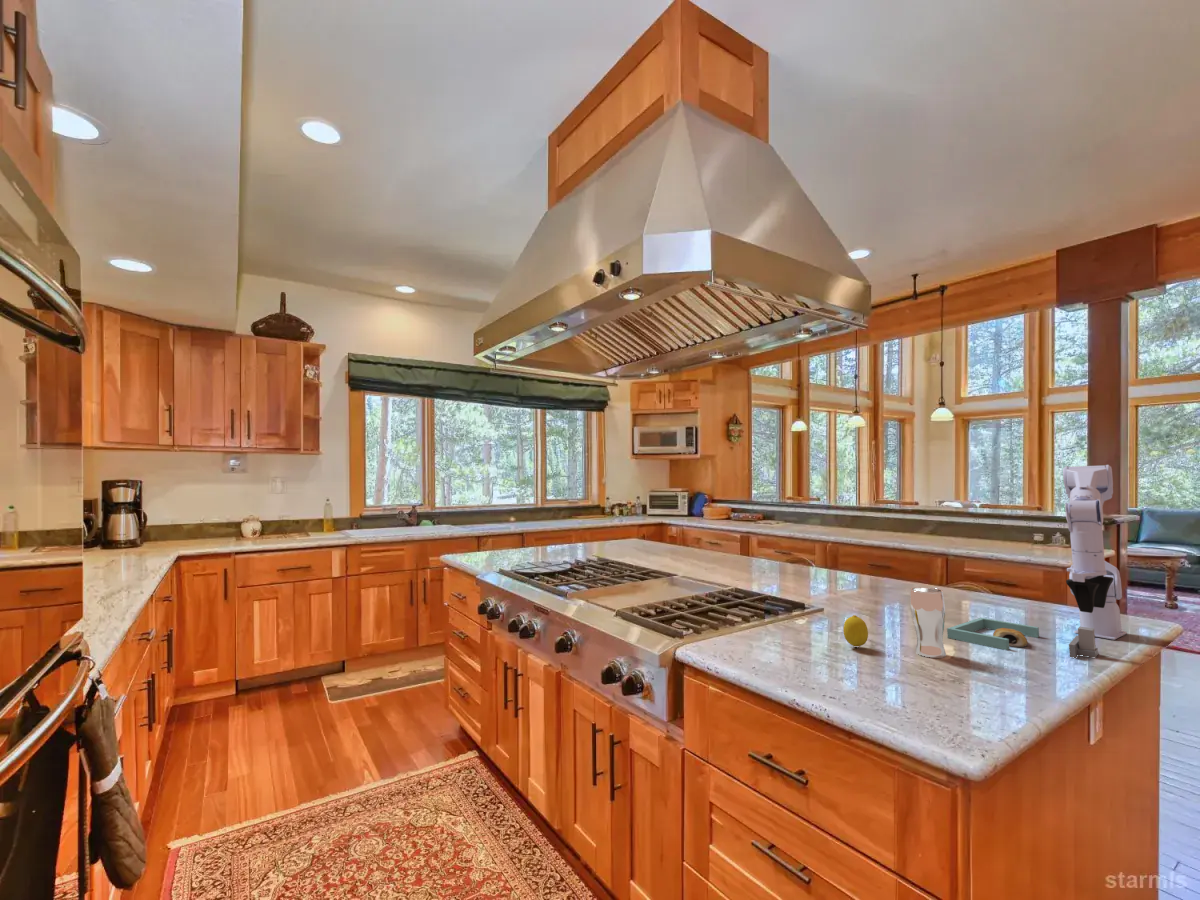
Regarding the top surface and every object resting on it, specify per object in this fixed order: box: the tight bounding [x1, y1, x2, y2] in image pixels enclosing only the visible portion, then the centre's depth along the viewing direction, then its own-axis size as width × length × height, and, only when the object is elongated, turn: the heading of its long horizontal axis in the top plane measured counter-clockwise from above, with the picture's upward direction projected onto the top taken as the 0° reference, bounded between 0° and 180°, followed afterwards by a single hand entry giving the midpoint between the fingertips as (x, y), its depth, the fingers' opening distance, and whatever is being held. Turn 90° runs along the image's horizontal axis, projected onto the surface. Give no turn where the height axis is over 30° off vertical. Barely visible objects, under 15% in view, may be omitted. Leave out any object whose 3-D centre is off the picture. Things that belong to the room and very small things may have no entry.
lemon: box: [842, 614, 869, 647], centre depth 135 cm, size 6×6×8 cm
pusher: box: [1068, 626, 1099, 659], centre depth 125 cm, size 10×4×6 cm, turn 131°
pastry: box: [992, 628, 1028, 648], centre depth 136 cm, size 9×7×4 cm
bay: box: [946, 617, 1040, 651], centre depth 140 cm, size 18×13×2 cm
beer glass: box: [910, 586, 947, 659], centre depth 129 cm, size 7×7×15 cm
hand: (1092, 609), depth 128 cm, fingers open, 7 cm apart
